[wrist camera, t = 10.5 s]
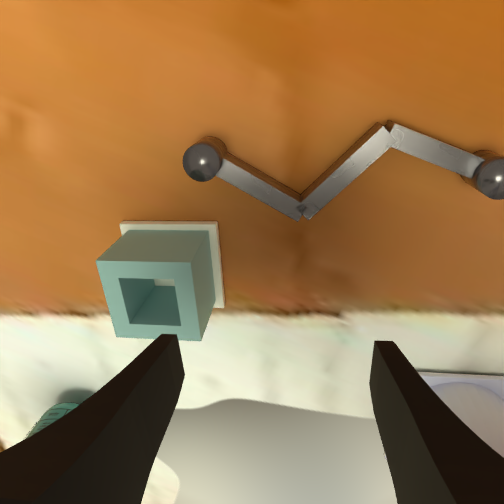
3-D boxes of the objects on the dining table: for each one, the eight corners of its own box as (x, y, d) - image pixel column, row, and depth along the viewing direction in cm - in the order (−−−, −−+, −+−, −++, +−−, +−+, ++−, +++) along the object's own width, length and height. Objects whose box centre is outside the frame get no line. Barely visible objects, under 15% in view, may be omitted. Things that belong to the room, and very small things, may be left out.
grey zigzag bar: (485, 212, 19) (509, 230, 17) (201, 212, 21) (191, 228, 19) (512, 116, 17) (542, 122, 15) (192, 126, 19) (178, 132, 17)
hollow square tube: (215, 300, 23) (201, 341, 20) (143, 297, 24) (116, 337, 20) (208, 230, 21) (190, 262, 17) (128, 229, 22) (95, 260, 18)
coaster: (225, 303, 24) (223, 307, 23) (140, 300, 25) (138, 305, 24) (217, 221, 21) (215, 224, 21) (122, 220, 22) (119, 224, 21)
